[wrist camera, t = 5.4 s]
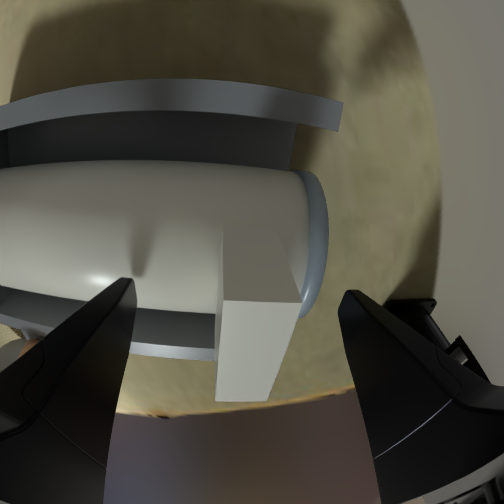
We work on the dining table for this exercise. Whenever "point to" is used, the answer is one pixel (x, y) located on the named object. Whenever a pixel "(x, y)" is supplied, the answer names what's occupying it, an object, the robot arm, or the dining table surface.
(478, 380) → the robot arm
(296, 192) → the cartridge
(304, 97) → the housing
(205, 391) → the dining table surface
